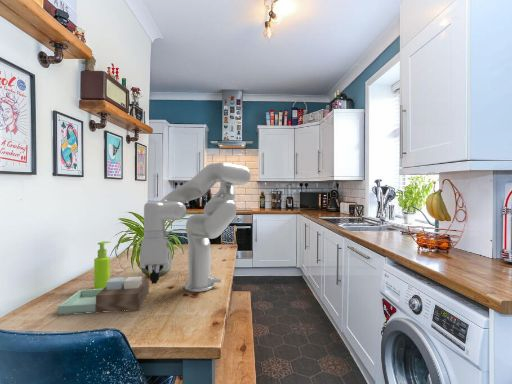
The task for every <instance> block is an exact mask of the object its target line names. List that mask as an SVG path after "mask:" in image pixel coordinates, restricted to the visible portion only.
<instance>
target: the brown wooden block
mask: <svg viewBox="0 0 512 384" xmlns="http://www.w3.org/2000/svg"><path fill="white" fill-rule="evenodd" d="M148 294H149V295H150V278H147V279H144V278H142V284H141V285H140V287H139V288H131V289H124V286H123V288H122V289H111V290H107V286H106V287H105V288H104V289H103V290H102V291H100V292H99V293H98V294H97V295H96V312H102V313H104V312H103V311H119V312H127V311H126V310H135V311H140V309H141V308H142V306H143V304H144V303H145V301H146V299H147V298H146V297H148V296H149V295H148ZM147 295H148V296H147ZM144 300H145V301H144ZM143 302H144V303H143ZM141 305H142V306H141ZM124 310H125V311H124Z"/></svg>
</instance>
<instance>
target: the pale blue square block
mask: <svg viewBox="0 0 512 384" xmlns="http://www.w3.org/2000/svg"><path fill="white" fill-rule="evenodd" d="M125 280H126V277H123V276H122V277H110V280H108V281H107V290H111V289H122V288H123V286H124V281H125Z"/></svg>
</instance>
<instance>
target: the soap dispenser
mask: <svg viewBox="0 0 512 384" xmlns="http://www.w3.org/2000/svg"><path fill="white" fill-rule="evenodd" d="M110 243H111V241H105V240H104V241H100V242H97V245H99V249H98V250H97V257H95V258H94V259H93V261H94V263H93V266H94V268H93V270H94V271H93V274H94V277H93V278H94V279H93V282H94V283H93V285H94V288H93V289H104V288H105V287H106V286H107V281H108V280H110V279H111V265H110V264H111V258H110V256H107V252H108V251H107V249H106V248H105V245H106V244H110Z"/></svg>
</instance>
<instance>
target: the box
mask: <svg viewBox="0 0 512 384" xmlns="http://www.w3.org/2000/svg"><path fill="white" fill-rule="evenodd" d="M102 290H103V289H94V288H93V289H92V288H91V289H79V290H78V291H76V292H75V293H74V294H72V295H71V296H70V297H69V298H67V299H66V300H64V301H63V302H62V303H61V304H59V305H58V306H57V316H62V315H61V314H69V315H75V314H74V313H86V312H96V295H97V294H98V293H99V292H100V291H102ZM86 314H87V313H86Z"/></svg>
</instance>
